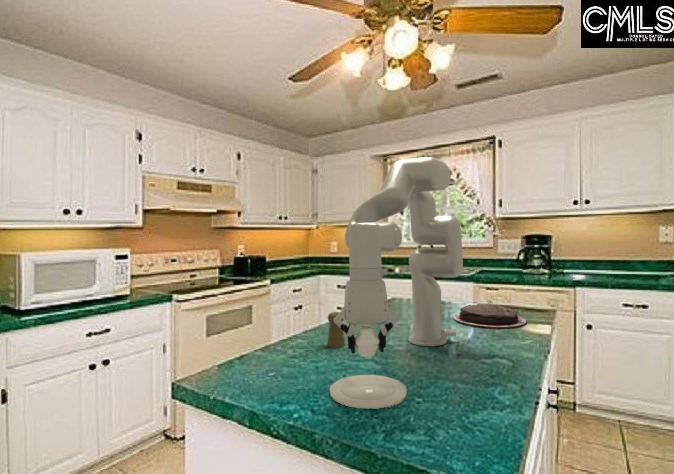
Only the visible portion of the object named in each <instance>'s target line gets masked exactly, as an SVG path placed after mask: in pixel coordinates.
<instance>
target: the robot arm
mask: <svg viewBox="0 0 674 474" xmlns="http://www.w3.org/2000/svg"><path fill="white" fill-rule="evenodd" d="M451 178H452V175H451V170H450V167H449V166H448V165H447V164H446V163H445V162H444V161H442V160H439V159H437V158H435V157H434V158H433V157H430V156H429V157H427V156H426V157H416V158H408V159H401V160H397V161H395V162H394V163H392V165H391V166H390V167H389V170H388V172H387V174H386V177H385V179H384V180H383V184H382V186H381V187H380V190H379V192H378V193H376V194H375V195H373V196H371V197H370V198H368V199H367V200H366V201H365V202H363V203H362V204H360V205H359V206H358V207H357V208H356V209H355V210H354V212H353V213H352V216H351V217H350V219H349V222H348V224H347V226H346V229H345V233H344V241H345V244H346V246H347V248H348V250H349V251H348V255H349V257H348V259H349V280H346V281H345V282H346V283H345V289H344V299H343V300H344V303H343V304H344V306H343V308H342V309H341V311H339V312H340V313H339V314H338V315H337V316H336V317H335V318H334V323H336V324H337V325H338V326H339V327H340V328H341V329H342V330H343V333H345V334H346V335H347V349H348V350H350V352H351V354H355V353H356V347H355V337H356V336H355V334H354V331H355V329H356V326H358V325H377V326H378V328H379V332H378V334H377V336H378V337H379V339H380V343H379V344H378V345H379V346H378V350H379V352H380V353H384V352H385V348H387V334H388V333H389V332H390V331H391V329H393V327H394V326H395V325H396V324H397V323H398V322H399V321H400V317H399V316H398V315H397V314H396V313H395V312H394V311H393V310H392V309H391V308H390V307H389V303H388V293H387V287H386V283H385V280H384V279H383V277H385V276H388V275H389V274H388V273H389V272H388V271H389V270H388V269H384V268H383V267H382V253H391V252H394V251H396V250H397V249H399V247H400V246H401V245H402V240H403V233H402V230H401V228H400V227H399V225H397V224H396V223H395V222H389V221H381V220H384V219H386V218H389V217H392V216H395V215H397V214H399V213H401V212H403V211H404V210H405V209H406V208H407V207H408V206H409V217H410V219H409V220H410V230H411V239H412V241H413V242H414V243H415V244H417V245H423V246H437V245H438V246H444V247H445V248H444V247H443V248H441V247H440V248H439V247H438V248H435V247H423V248H416V249H414V250H412V251H411V253H410V254H409V257H408V265H409V272H410V276H411V285H412V286H411V289H412V291H411V293H412V334H411V335H410V336H408V341H409V342H410V343H411V344H413V345H416V346H422V347H437V346H443V345H445V344H446V343H447V337H452V336H453V337H456V336H457V331H456V330H455V329H448V328H447V329H444V328H443V326H442V324H443V323H442V321H443V320H442V289H441V287H440V285H439V283H438V282H437V280H436V279H435V278H457V277H459V276H460V275H461V274H462V272H463V268H464V267H463V266H464V263H463V262H464V260H463V259H464V258H463V245H462V244H463V243H462V239H463V237H462V229H461V223H460V221H459V219H458V218H457V217H456V216H453V215H437V205H436V203H437V202H436V199H435V198H434V195H433V194H432V193H431V192H435V191H437V192H438V191H445V190H446V189H447V188H448V187H449V186H450V183H451ZM389 317H390V320H389ZM342 318H343V319H345V320H346V323H347V324H348V326H347V324H346V323H344V322H343V321H341V320H342Z"/></svg>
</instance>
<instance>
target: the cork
mask: <svg viewBox="0 0 674 474" xmlns="http://www.w3.org/2000/svg"><path fill="white" fill-rule="evenodd" d="M340 312H341V311H332V312H330V313H329V314H328V316H327V321H328V322H329V325H328V326H329V328H328V334H327V335H328V336H327V343H326V344H327V345H326V346H327V347H328V348H331V349H339V348H344V347H345V346H346V340H345V334H344V333H345V332H344V331H343V330H342V329H341V328H340V327H339V326H338V325H337V324H336V323H334V318H335V317H336V316H337V315H338V314H339V313H340ZM341 321H342V322H343V321H344V317H343V318H342V320H341Z"/></svg>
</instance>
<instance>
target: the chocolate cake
mask: <svg viewBox="0 0 674 474" xmlns="http://www.w3.org/2000/svg"><path fill="white" fill-rule="evenodd" d="M452 317H453V320H454V321H455V320H456V322H457V323H459V324H463V325H464V326H466V327H467V326H468V327H475V328H483V329H484V328H485V329H495V330H503V329H505V330H506V329H511V328H515V329H516V328H517V329H518V328H520V327H521V326H524V325H525V324H527V320H526V319H525V318H524V317H522V316H519V315H518V313H517V309H516V310H515V309H513V308H509V307H508V308H506V307H504V306H501V305H497V304H489V303H488V304H486V303H481V304H480V303H479V304H467V305H466V306H463V307H461V308H460V309H459V313H456V314H454V315H453V316H452Z"/></svg>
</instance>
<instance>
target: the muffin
mask: <svg viewBox="0 0 674 474" xmlns="http://www.w3.org/2000/svg"><path fill="white" fill-rule="evenodd" d="M354 337H355V349H356V350H357V352H358V354H359V356H360V357H363V358H371V357H374V356H375V354H376V352H377V350H378V349H379V345H378V344H379V343H380V339H379V337H378V334H376V332H375V329H374V328H373V327H371V326H368V325H366V326H364V325H363V326H361V327H360V328H359V329H358V333H357V335H356V336H354Z"/></svg>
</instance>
